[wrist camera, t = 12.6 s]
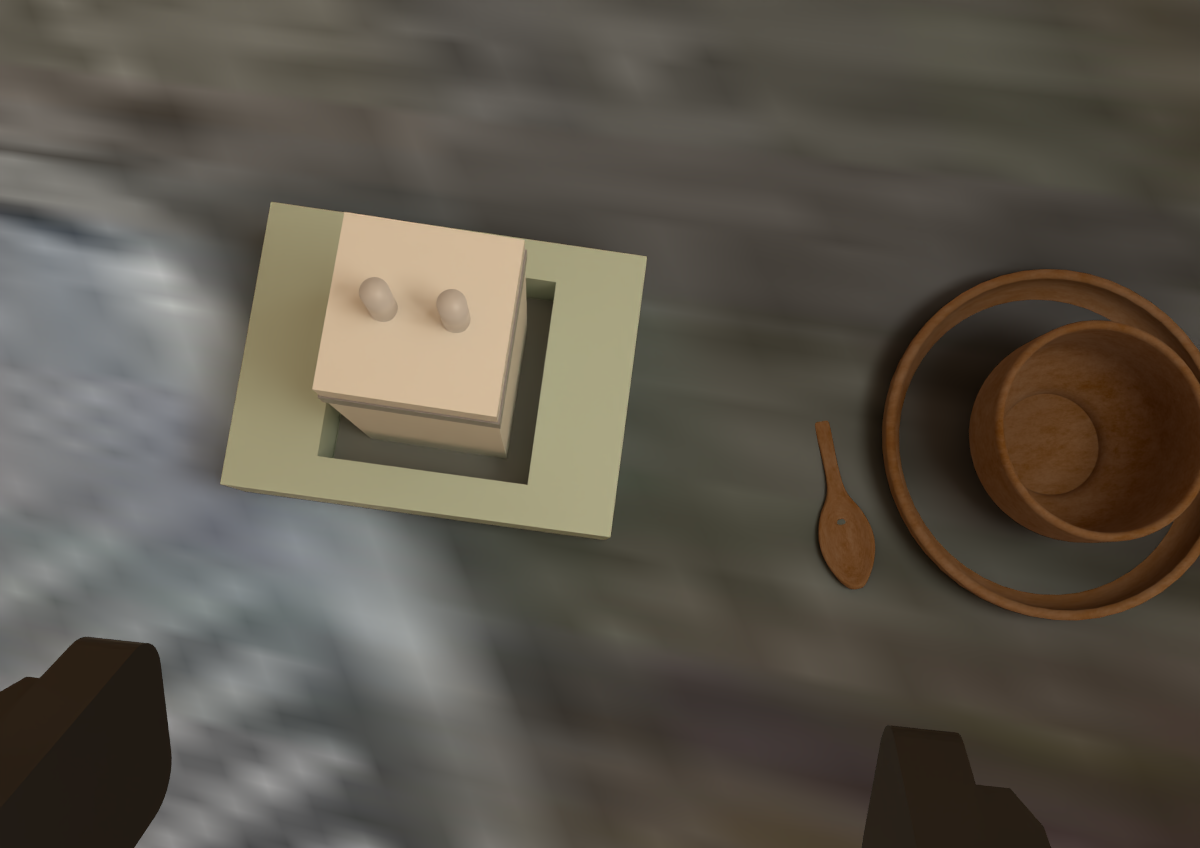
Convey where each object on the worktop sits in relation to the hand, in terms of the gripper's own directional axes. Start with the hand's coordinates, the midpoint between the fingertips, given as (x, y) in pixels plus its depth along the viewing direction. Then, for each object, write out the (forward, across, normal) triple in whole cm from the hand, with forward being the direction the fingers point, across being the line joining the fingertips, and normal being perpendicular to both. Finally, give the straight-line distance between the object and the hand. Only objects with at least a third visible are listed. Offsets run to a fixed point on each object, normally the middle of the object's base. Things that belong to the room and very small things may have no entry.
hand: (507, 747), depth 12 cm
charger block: (+25, +6, +6) cm, 26 cm away
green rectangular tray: (+25, +7, +6) cm, 27 cm away
